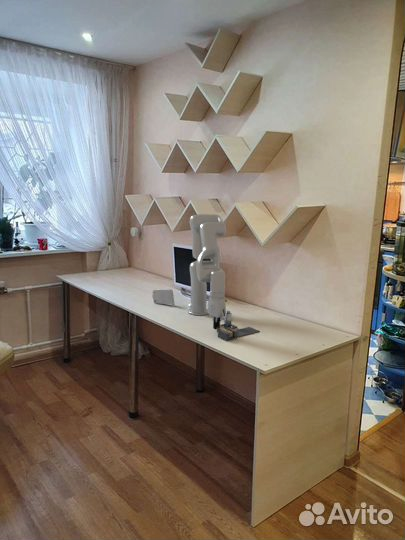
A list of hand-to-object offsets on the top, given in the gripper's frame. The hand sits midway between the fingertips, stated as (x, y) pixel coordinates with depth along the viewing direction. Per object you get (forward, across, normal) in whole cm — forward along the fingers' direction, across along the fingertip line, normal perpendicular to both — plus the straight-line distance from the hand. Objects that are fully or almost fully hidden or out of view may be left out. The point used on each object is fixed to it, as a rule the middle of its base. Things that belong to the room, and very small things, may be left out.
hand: (216, 328), depth 213 cm
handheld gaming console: (+3, -62, +5) cm, 62 cm away
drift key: (+1, +7, 0) cm, 7 cm away
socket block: (+2, +9, 0) cm, 9 cm away
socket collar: (+2, -4, +10) cm, 11 cm away
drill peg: (+2, -4, +10) cm, 11 cm away
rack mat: (+2, +8, +12) cm, 15 cm away
